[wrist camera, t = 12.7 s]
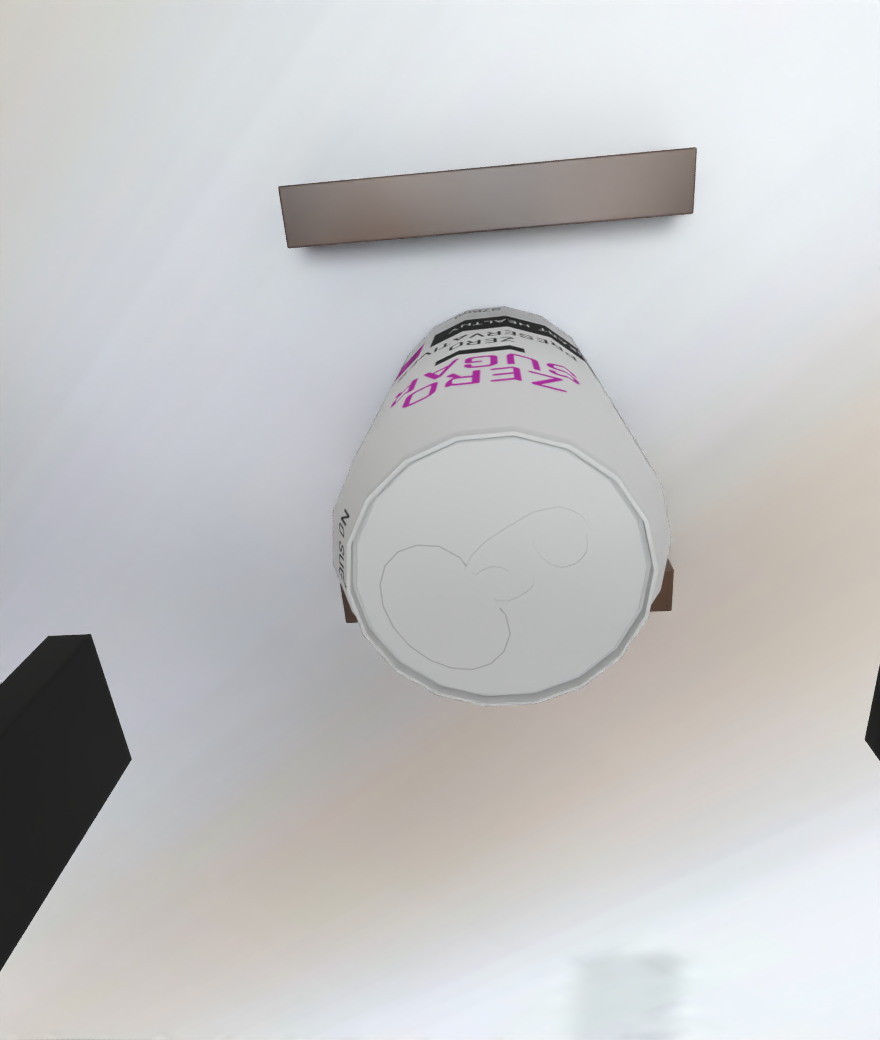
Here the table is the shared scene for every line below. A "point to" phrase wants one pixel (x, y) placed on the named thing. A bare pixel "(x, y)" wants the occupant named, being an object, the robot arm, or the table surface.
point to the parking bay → (493, 211)
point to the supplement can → (500, 517)
